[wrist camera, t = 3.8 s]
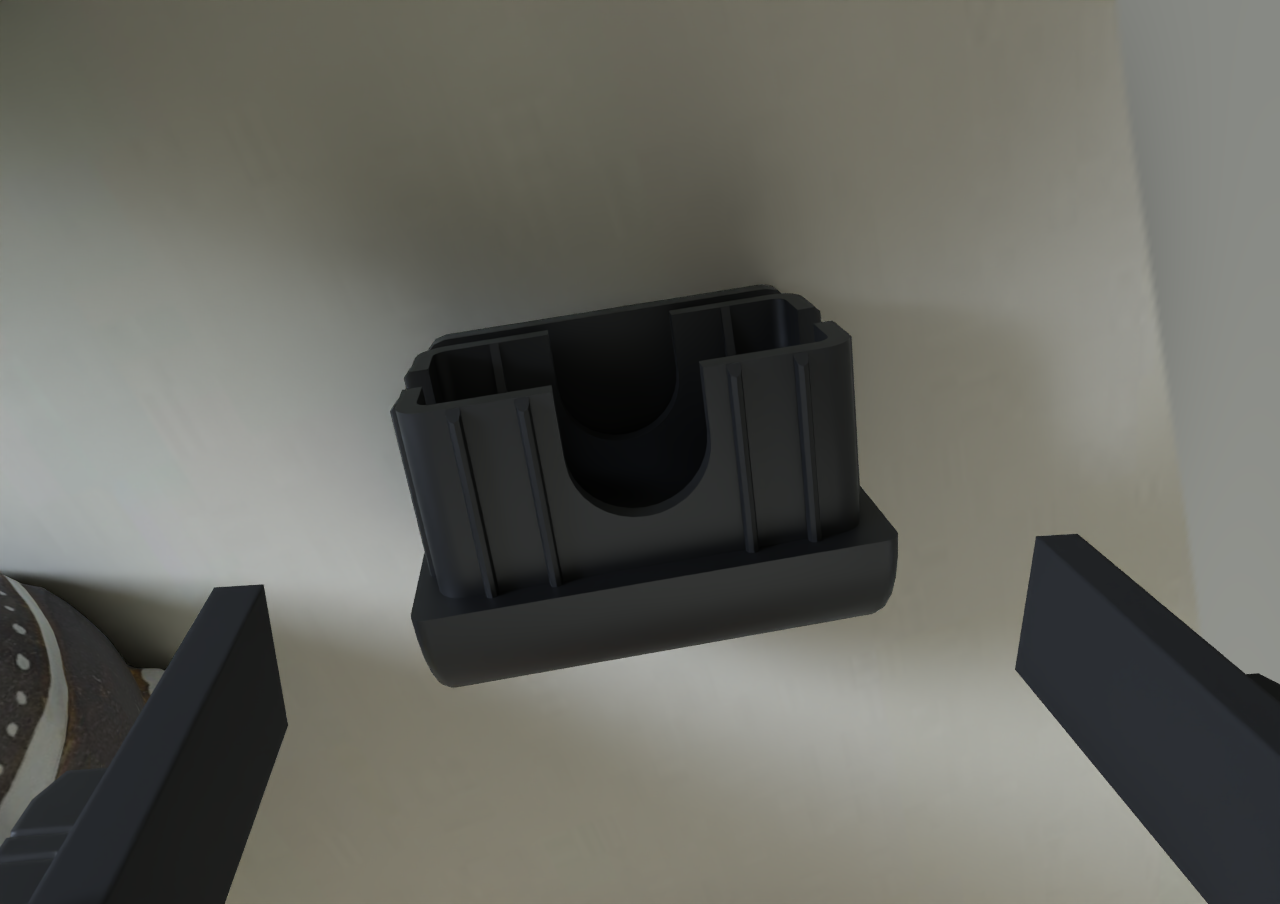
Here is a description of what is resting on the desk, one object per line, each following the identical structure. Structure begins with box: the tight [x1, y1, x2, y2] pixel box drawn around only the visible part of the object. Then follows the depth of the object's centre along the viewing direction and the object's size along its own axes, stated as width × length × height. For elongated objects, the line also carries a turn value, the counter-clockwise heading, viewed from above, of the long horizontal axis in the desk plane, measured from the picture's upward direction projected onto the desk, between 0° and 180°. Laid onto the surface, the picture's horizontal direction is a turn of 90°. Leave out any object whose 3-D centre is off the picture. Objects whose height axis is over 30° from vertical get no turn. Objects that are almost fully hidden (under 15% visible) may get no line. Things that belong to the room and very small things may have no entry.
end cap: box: [390, 285, 898, 687], centre depth 22 cm, size 10×7×7 cm
